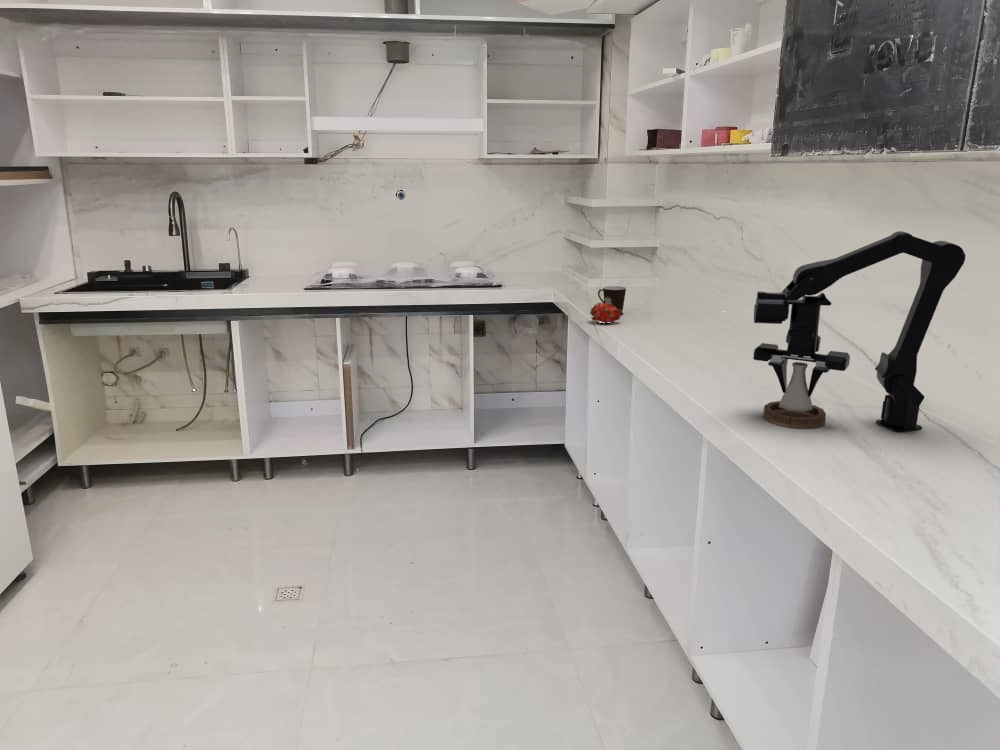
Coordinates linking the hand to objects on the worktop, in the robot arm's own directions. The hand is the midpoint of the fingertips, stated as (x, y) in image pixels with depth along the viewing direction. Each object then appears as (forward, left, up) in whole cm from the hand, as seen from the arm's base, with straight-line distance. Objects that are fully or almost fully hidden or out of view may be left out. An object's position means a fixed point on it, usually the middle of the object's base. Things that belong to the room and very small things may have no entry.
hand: (796, 394), depth 159 cm
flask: (0, 0, -3) cm, 3 cm away
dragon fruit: (+106, -3, -6) cm, 106 cm away
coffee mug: (+122, -13, -6) cm, 123 cm away
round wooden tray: (0, 0, -6) cm, 6 cm away
